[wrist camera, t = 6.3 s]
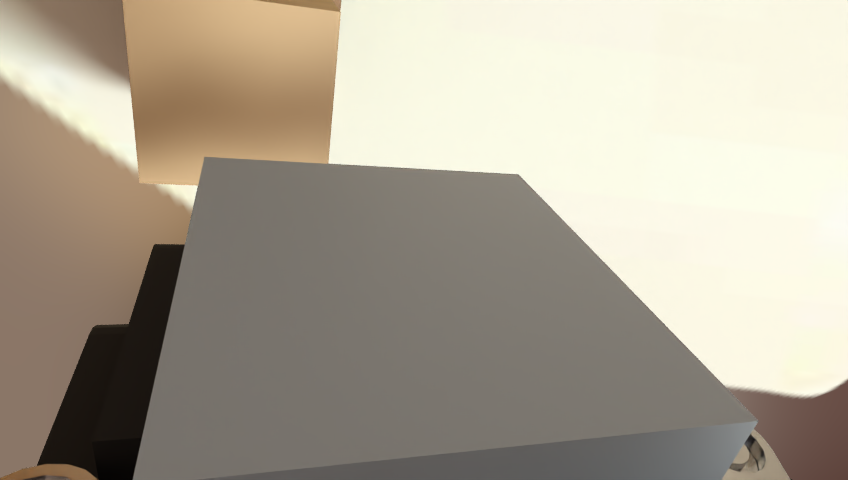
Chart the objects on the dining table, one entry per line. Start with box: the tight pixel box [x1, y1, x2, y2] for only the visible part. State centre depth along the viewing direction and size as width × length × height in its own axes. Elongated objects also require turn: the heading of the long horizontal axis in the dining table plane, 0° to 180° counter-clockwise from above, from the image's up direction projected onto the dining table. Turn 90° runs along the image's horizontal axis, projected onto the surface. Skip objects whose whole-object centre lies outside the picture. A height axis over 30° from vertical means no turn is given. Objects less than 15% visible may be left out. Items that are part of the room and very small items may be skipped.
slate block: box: [133, 157, 758, 480], centre depth 8 cm, size 6×6×6 cm
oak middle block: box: [122, 0, 341, 185], centre depth 19 cm, size 6×6×5 cm
